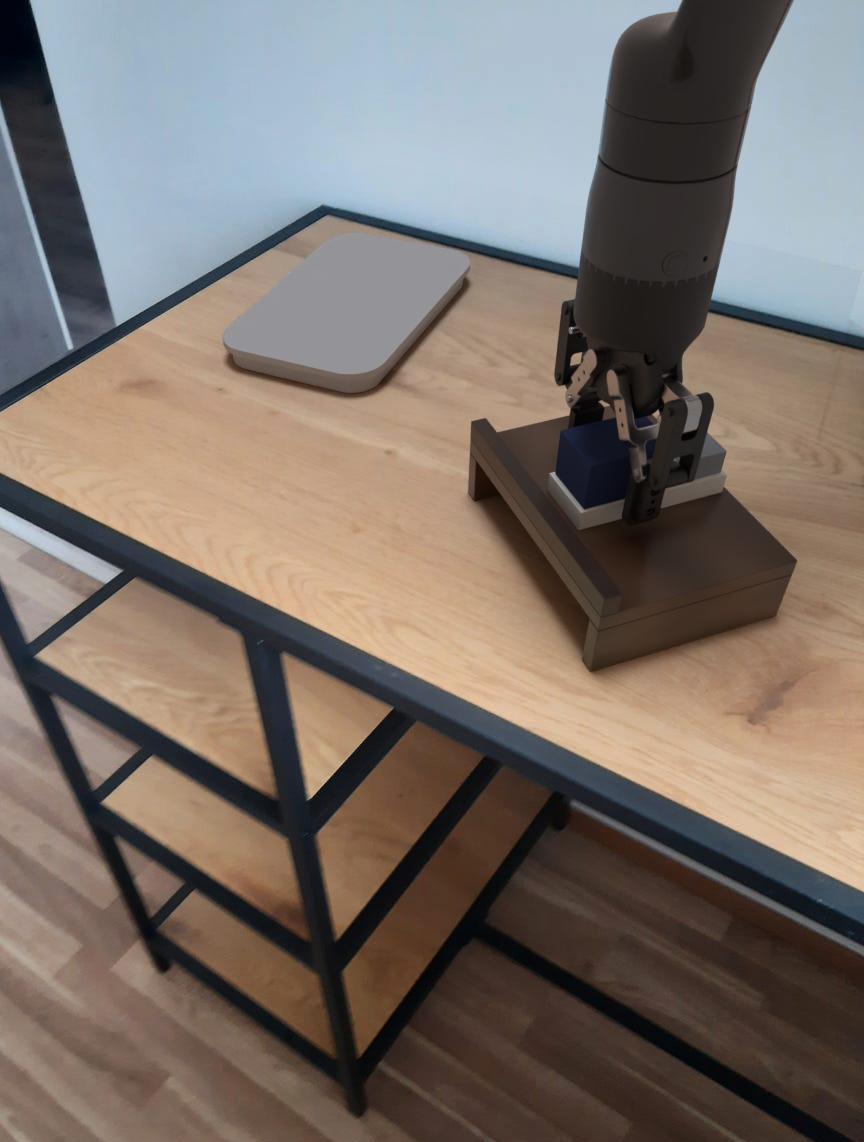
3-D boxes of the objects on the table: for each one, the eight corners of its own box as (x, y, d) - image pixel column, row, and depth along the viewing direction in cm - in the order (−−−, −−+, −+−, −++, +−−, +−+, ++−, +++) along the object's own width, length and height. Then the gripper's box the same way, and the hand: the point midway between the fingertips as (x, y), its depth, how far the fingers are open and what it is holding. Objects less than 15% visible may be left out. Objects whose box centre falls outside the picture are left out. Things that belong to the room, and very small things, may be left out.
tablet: (478, 275, 98) (479, 254, 96) (369, 403, 82) (368, 380, 80) (340, 249, 103) (339, 229, 101) (212, 365, 87) (208, 343, 85)
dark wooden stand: (626, 452, 76) (640, 381, 71) (776, 615, 63) (805, 542, 58) (467, 492, 73) (470, 420, 68) (590, 672, 60) (604, 599, 55)
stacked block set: (685, 455, 67) (701, 394, 64) (722, 492, 64) (740, 430, 61) (547, 490, 65) (554, 429, 61) (578, 530, 62) (588, 468, 58)
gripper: (790, 288, 47) (716, 536, 59) (644, 185, 57) (605, 417, 69) (660, 317, 46) (610, 565, 58) (532, 206, 55) (512, 440, 67)
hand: (608, 484), depth 63 cm, fingers open, 7 cm apart
